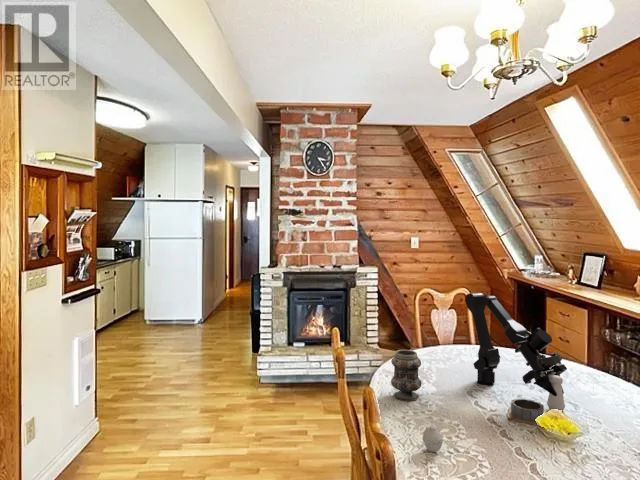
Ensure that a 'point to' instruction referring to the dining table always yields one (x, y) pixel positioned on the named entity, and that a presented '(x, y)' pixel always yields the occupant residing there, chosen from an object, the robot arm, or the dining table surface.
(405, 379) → the apothecary jar
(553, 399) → the salt shaker
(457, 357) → the dining table surface
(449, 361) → the dining table surface
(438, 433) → the grey cracked egg
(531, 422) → the cup holder
